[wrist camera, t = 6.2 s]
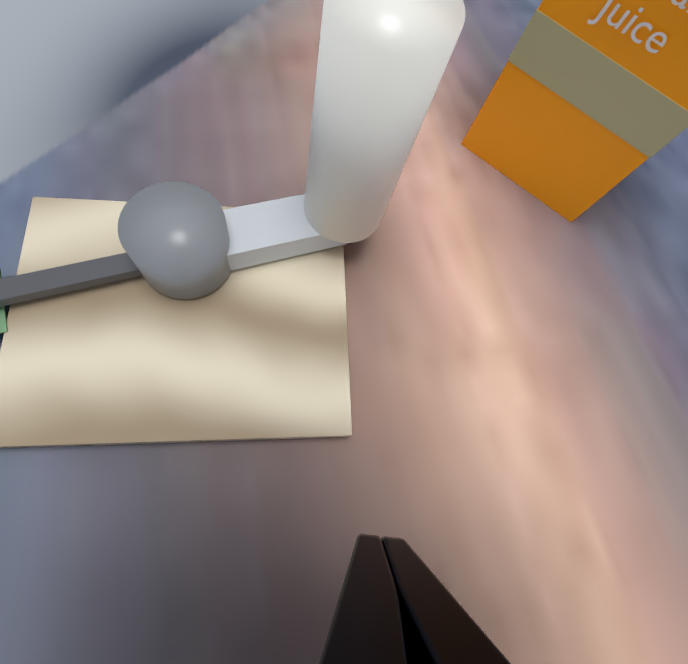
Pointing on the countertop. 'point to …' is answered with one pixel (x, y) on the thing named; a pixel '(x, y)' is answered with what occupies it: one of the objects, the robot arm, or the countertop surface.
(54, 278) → the crank handle
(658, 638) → the countertop surface
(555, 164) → the orange juice
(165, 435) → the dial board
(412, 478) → the countertop surface
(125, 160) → the countertop surface
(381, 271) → the countertop surface
